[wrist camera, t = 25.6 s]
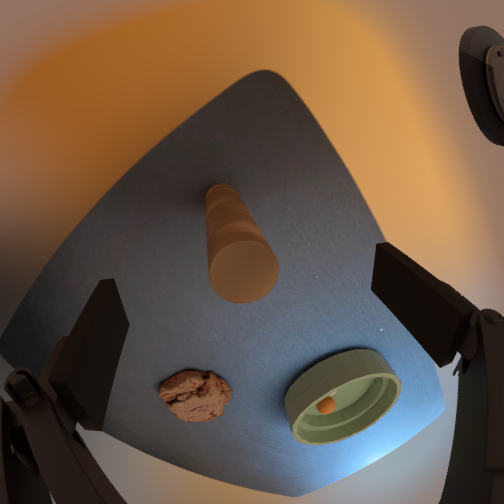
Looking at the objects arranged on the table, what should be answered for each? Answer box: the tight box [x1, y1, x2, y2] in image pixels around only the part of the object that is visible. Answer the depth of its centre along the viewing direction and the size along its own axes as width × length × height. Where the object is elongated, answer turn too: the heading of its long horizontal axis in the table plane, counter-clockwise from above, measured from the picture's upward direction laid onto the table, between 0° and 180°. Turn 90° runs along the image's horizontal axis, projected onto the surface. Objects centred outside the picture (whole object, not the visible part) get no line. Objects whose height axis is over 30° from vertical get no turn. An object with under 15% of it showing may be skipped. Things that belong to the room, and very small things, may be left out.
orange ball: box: [316, 396, 336, 414], centre depth 39 cm, size 3×3×3 cm
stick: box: [205, 183, 279, 303], centre depth 20 cm, size 3×3×15 cm
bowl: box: [284, 349, 401, 445], centre depth 38 cm, size 18×18×6 cm
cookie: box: [159, 371, 232, 422], centre depth 35 cm, size 10×11×3 cm
